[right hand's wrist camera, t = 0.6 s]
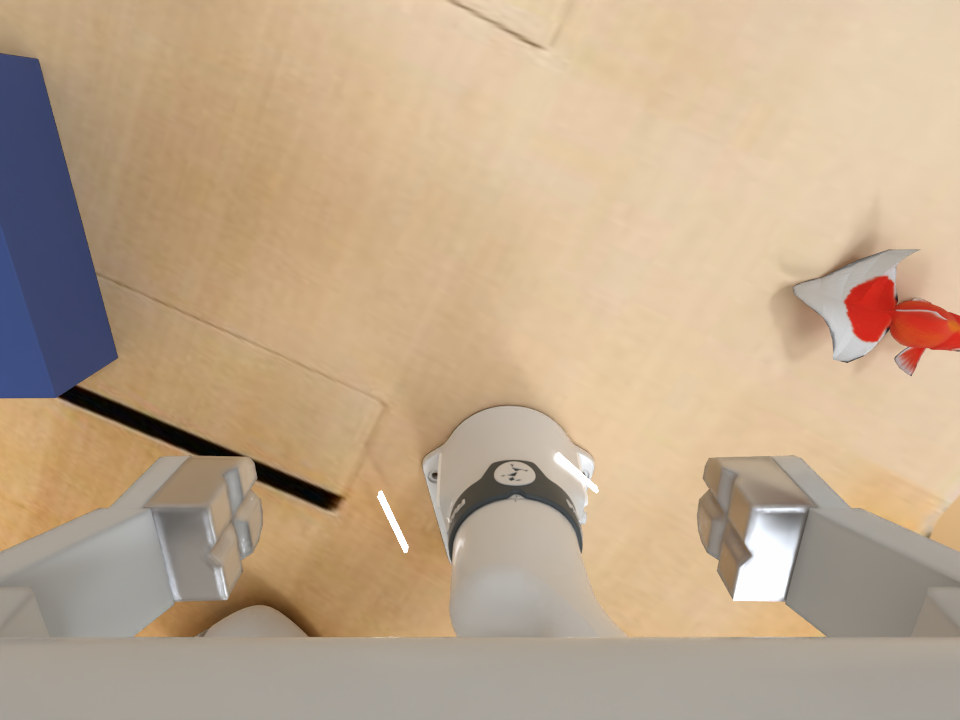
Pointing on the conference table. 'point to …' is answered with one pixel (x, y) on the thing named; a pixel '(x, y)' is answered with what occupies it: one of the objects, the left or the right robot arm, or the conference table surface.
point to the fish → (878, 311)
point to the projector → (254, 624)
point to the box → (42, 251)
